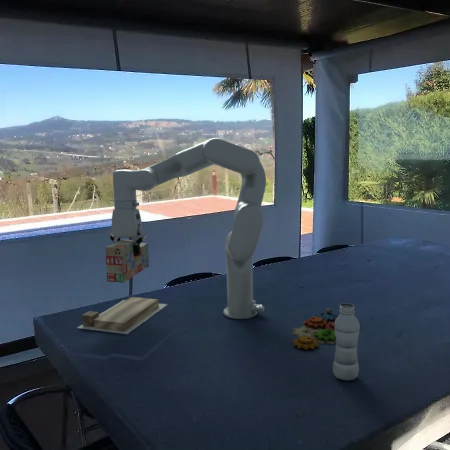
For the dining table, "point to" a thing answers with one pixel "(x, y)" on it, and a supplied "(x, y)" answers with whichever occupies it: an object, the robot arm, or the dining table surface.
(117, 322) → the oak plinth
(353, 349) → the plastic bottle
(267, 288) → the dining table surface
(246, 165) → the robot arm
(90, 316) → the walnut cube
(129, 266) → the stack of blocks
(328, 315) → the gear puzzle
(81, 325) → the cream tile
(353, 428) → the dining table surface
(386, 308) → the dining table surface
